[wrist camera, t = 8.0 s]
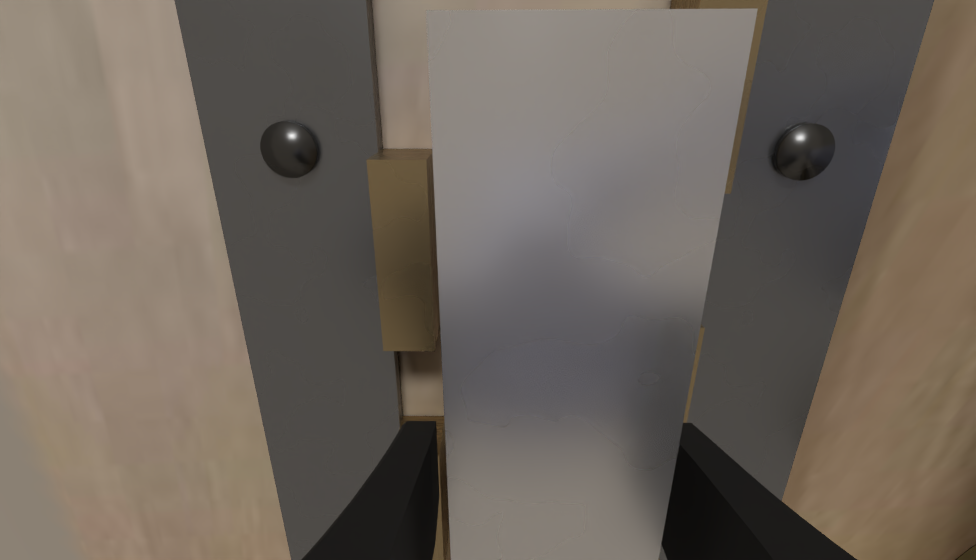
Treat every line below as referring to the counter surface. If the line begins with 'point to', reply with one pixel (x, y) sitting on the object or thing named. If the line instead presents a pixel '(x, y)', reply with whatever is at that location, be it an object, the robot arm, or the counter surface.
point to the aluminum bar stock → (574, 263)
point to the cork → (969, 554)
